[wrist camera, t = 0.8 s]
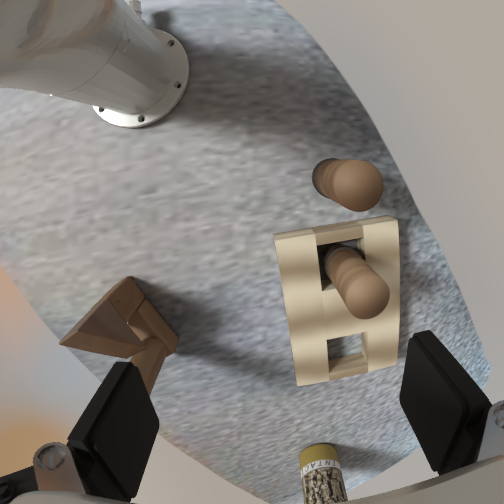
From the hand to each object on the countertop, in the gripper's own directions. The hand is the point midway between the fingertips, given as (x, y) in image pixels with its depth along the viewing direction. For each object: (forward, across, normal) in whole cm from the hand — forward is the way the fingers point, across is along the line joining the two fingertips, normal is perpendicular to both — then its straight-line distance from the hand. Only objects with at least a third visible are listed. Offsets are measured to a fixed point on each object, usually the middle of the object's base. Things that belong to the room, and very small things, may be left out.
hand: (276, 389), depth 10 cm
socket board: (+28, -8, +11) cm, 31 cm away
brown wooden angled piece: (+28, +17, +10) cm, 34 cm away
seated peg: (+28, -8, +5) cm, 29 cm away
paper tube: (+28, -5, +41) cm, 50 cm away
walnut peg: (+27, -8, -5) cm, 29 cm away
